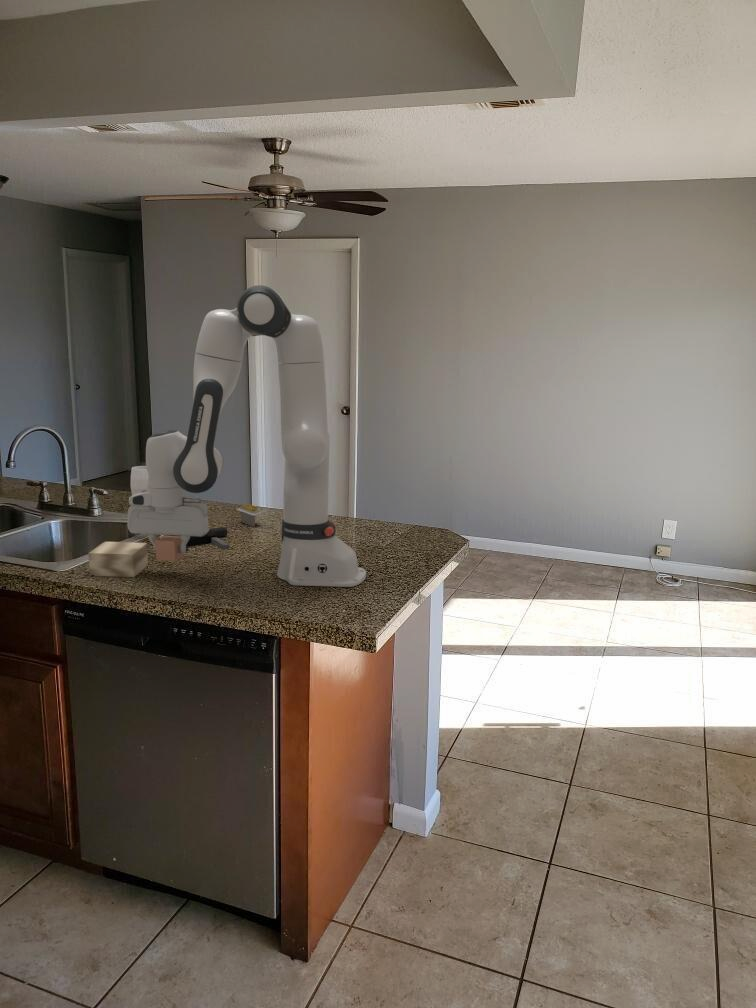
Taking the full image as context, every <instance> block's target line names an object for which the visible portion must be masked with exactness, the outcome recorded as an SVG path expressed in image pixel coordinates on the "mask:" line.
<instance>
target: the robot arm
mask: <svg viewBox="0 0 756 1008" xmlns="http://www.w3.org/2000/svg"><path fill="white" fill-rule="evenodd" d="M257 336H265V337H269V338H272V339H273V341H274V343H275V345H276V355H277V365H278V366H277V367H278V380H279V381H278V382H279V396H280V398H279V399H280V431H281V432H280V433H281V450H282V454H283V457H284V474H283V476H284V477H283V478H284V479H283V518H282V520H281V526H280V527H281V528H280V535H281V536H280V537H281V542H282V543H281V544H282V547H281V554H280V561H279V565H278V568H277V572H276V576H277V577H278V578H279V579H281V580H283V581H285V582H288V584H290V585H292V586H307V587H308V586H309V587H313V586H314V587H337V588H338V587H340V588H342V587H343V588H344V587H346V588H347V587H349V588H351V587H355V586H356V587H357V586H358V585H360V584H361V583H363V582H364V581H365V580H366V579H367V578H366V577H367V571H366V569H365V568H364V567H360V566H359V563H358V559H357V558H358V557H357V553H356V552H355V549H353V548H351V547H350V546H349V545H348V544H347V543H346V542H345V541H343V540H341V538H339V537H338V536H337V535H336V533H337V532H336V528H337V522H334V523H333V522H332V521H331V520H329V482H330V481H329V479H330V478H329V477H330V472H329V471H330V434H329V431H328V430H329V429H328V409H327V407H328V405H327V404H328V403H327V387H326V385H327V384H326V370H325V355H324V346H323V340H322V336H321V331H320V327H319V325H318V322H317V321H316V320H315V319H314V318H313V317H311V316H310V315H309V316H308V315H306V314H294V313H291V311H290V310H289V308H288V306H287V305H286V303H285V300H284V298H283V297H282V296H281V295H280V294H279V292H278V291H276V290H275V289H273V288H271V287H269V286H266V285H262V284H261V285H260V284H258V285H253V286H250V287H248V288H246V289H245V290H244V291H243V292H242V293H241V294H240V295H239V298H238V300H237V303H236V307H235V308H234V309H225V308H218V309H214V310H211V311H208V313H206V315H205V317H204V318H203V321H202V324H201V327H200V331H199V335H198V338H197V342H196V347H195V353H194V359H193V360H194V362H193V371H192V372H193V373H192V374H193V378H192V379H193V387H192V390H193V395H192V396H193V398H192V400H193V401H192V409H191V416H190V419H189V420H190V421H189V426H188V432H187V436H186V435H184V434H183V433H181V432H180V431H179V430H176V429H170V430H169V429H168V430H164V431H159V432H155V433H152V435H150V436H149V437H148V438H147V441H146V446H145V466H146V469H147V472H148V477H149V478H148V483H147V489H148V490H145V491H143V492H141V493H137V494H135V495H133V496H132V495H131V496H129V498H128V503H129V505H130V506H129V507H128V510H127V519H126V520H127V521H126V523H127V529H128V531H129V532H130V533H131V534H144V535H145V534H146V535H148V537H147V539H148V540H149V541H150V543H151V544H152V548H153V552H156V548H155V540H157V539H158V538H157V537H158V535H159V536H160V535H161V536H164V535H180V536H181V540H183V542H182V544H180V545H179V546H177V548H178V553H184V554H185V553H186V552H187V551H186V544H187V543H188V541H189V539H190V536H199V537H202V536H204V535H206V534H207V533H208V531H209V529H210V523H209V518H208V517H209V516H208V510H209V509H208V504H207V502H205V500H202V498H198V497H196V498H193V497H186V492H189V493H193V494H201V493H204V492H207V491H209V490H210V489H212V488H213V486H214V485H215V483H216V481H217V479H218V476H219V475H220V473H221V471H222V470H223V465H224V458H223V455H222V453H221V451H220V450H219V449H218V448H217V447H216V446H215V443H216V437H217V433H218V426H219V421H220V416H221V413H222V410H223V408H224V406H225V404H226V402H227V401H228V399H229V398H230V396H231V395H232V393H233V392H234V391H235V388H236V385H237V383H238V380H239V378H240V373H241V371H242V364H243V359H244V351H245V348H246V345H247V342H248V340H249V339H250V338H251V337H257Z"/></svg>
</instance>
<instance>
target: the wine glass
mask: <svg viewBox="0 0 756 1008" xmlns="http://www.w3.org/2000/svg"><path fill="white" fill-rule="evenodd" d="M130 470H131V472H130V490H131V491H130V492H131V496H133V495H135V494H137V493H141V492H143V491H145V490H148V489H147V483H148V478H149V477H148V472H147V469H146V465H139V466H138V465H137V466H132V467H131V469H130Z"/></svg>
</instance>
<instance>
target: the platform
mask: <svg viewBox="0 0 756 1008" xmlns="http://www.w3.org/2000/svg"><path fill="white" fill-rule="evenodd" d="M237 511H239V512H241V513H240V516H241V517H240V518H241V519H240V522H241V523H242V524H244V523H245V524H244V525H247V524H248V525H247V526H249V527H252V526H253V528H255V527H256V526H255V525H256V523H255V521H256V517H255V516H257V515H259V514H261V510H259V509H258V507H257V506H256V505H254V504H250V503H248V502H247V503H243V504H242V507H237Z"/></svg>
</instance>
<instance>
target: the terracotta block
mask: <svg viewBox="0 0 756 1008" xmlns="http://www.w3.org/2000/svg"><path fill="white" fill-rule="evenodd" d="M156 539H157V540H155V548H156V551H155V561H160V562H161V561H163V562H177V561H178V560H180V559H182V558H183V557H185V553H178V548H177V546H179V545H180V544H182V542H183V540H181V536H164V535H162V536H161V537H159V538H156Z"/></svg>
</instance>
